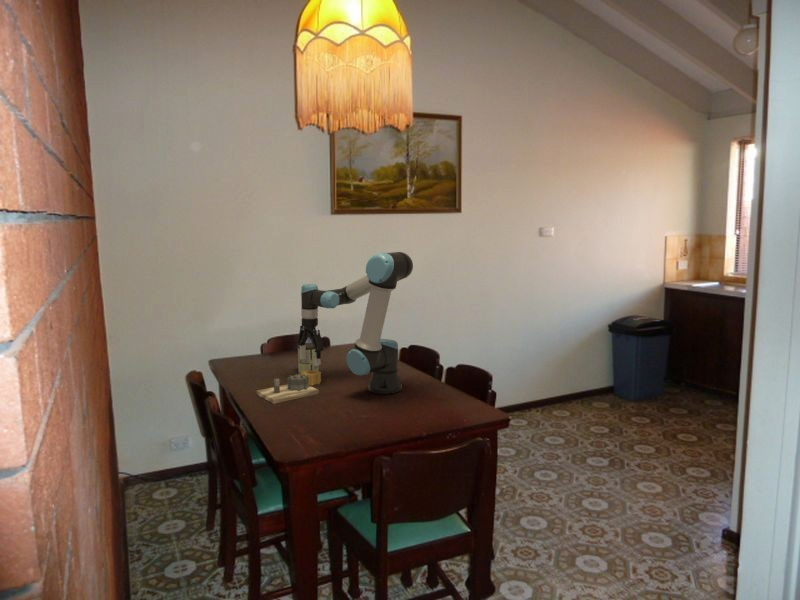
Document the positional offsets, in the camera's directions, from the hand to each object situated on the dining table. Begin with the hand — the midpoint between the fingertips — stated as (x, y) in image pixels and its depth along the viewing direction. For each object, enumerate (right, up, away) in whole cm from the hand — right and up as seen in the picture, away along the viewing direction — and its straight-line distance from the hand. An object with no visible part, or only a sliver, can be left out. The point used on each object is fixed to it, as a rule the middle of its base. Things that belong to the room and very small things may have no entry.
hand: (309, 362), depth 272 cm
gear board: (-7, -12, -16) cm, 22 cm away
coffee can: (-4, -8, +18) cm, 20 cm away
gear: (0, -10, +1) cm, 10 cm away
